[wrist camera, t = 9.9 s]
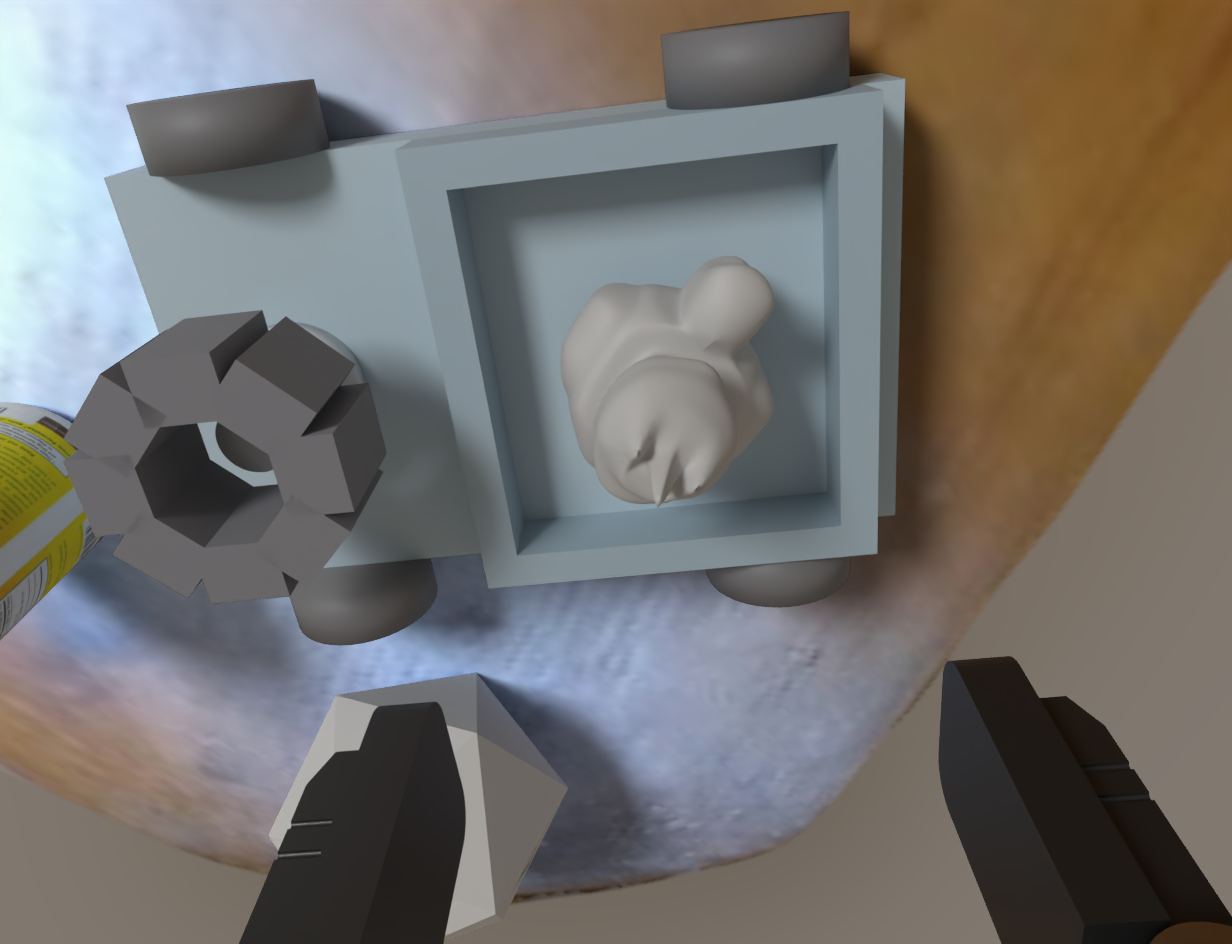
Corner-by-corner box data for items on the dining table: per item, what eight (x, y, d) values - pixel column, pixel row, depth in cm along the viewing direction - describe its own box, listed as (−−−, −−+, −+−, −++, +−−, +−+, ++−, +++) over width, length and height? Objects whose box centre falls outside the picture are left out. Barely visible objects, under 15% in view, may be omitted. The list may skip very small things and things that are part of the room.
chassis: (130, 101, 25) (-17, 126, 19) (880, 4, 23) (958, 1, 18) (285, 574, 31) (211, 694, 26) (874, 519, 30) (929, 634, 24)
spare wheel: (100, 327, 21) (24, 372, 19) (347, 300, 21) (306, 341, 18) (183, 545, 24) (127, 611, 21) (404, 524, 24) (376, 588, 21)
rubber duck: (521, 384, 25) (478, 528, 18) (655, 178, 23) (665, 252, 16) (681, 479, 27) (699, 650, 19) (824, 295, 24) (905, 413, 17)
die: (412, 830, 38) (541, 1018, 30) (200, 825, 32) (298, 1059, 24) (502, 649, 37) (655, 796, 30) (304, 608, 31) (436, 780, 24)
